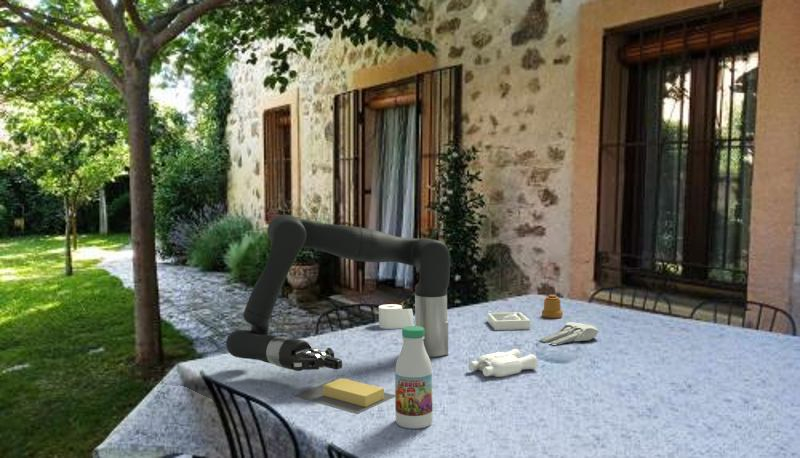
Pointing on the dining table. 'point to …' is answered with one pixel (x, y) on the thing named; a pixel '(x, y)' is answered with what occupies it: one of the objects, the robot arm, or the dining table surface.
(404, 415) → the milk bottle
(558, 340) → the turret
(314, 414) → the dining table surface
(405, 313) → the toilet paper
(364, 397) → the box
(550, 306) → the ornamental finial
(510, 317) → the whipped cream
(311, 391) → the mat
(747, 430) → the dining table surface
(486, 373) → the binoculars
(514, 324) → the holder
